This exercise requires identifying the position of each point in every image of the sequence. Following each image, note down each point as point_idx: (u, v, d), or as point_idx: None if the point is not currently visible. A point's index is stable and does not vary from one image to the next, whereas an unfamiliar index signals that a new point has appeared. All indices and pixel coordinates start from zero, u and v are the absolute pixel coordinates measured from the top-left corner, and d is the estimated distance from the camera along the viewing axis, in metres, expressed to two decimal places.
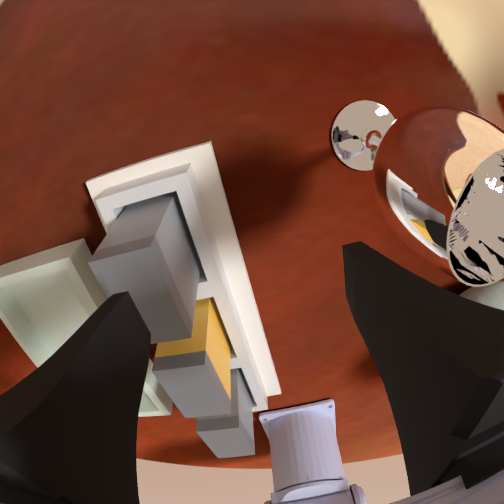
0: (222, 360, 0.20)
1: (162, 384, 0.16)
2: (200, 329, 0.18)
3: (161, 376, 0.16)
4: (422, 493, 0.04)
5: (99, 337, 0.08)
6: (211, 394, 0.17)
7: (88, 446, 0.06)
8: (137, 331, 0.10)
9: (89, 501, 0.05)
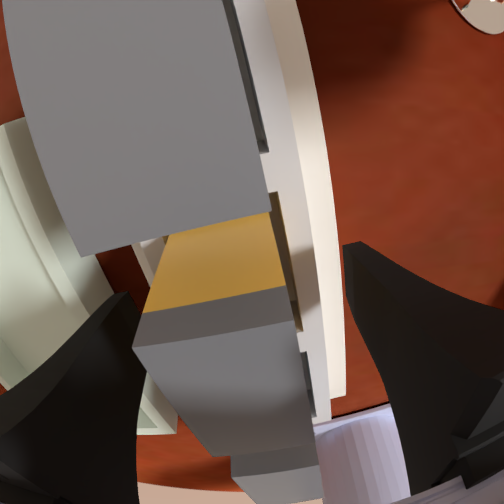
0: None
1: (162, 386, 0.06)
2: (260, 245, 0.08)
3: (159, 362, 0.06)
4: (422, 493, 0.04)
5: (98, 337, 0.08)
6: (287, 407, 0.07)
7: (88, 446, 0.06)
8: None
9: (89, 501, 0.05)
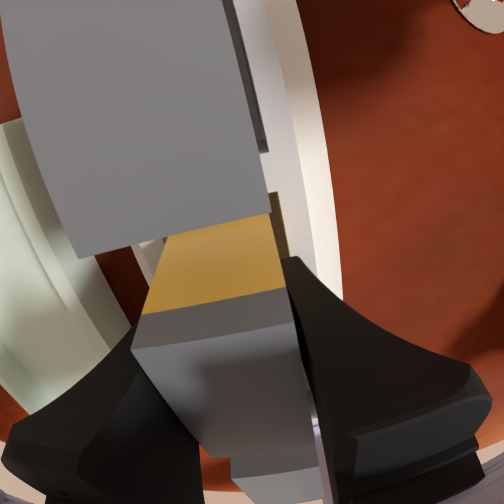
0: None
1: (161, 388, 0.06)
2: (260, 246, 0.08)
3: (158, 364, 0.06)
4: None
5: None
6: (287, 409, 0.07)
7: (163, 448, 0.06)
8: None
9: None
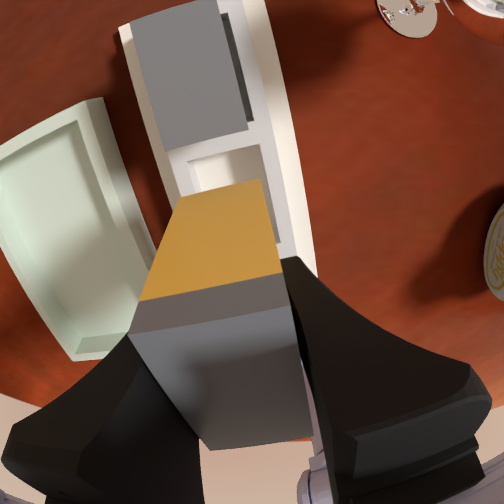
0: None
1: (157, 375, 0.06)
2: (257, 235, 0.08)
3: (155, 350, 0.06)
4: None
5: None
6: (284, 397, 0.07)
7: (163, 448, 0.06)
8: None
9: None
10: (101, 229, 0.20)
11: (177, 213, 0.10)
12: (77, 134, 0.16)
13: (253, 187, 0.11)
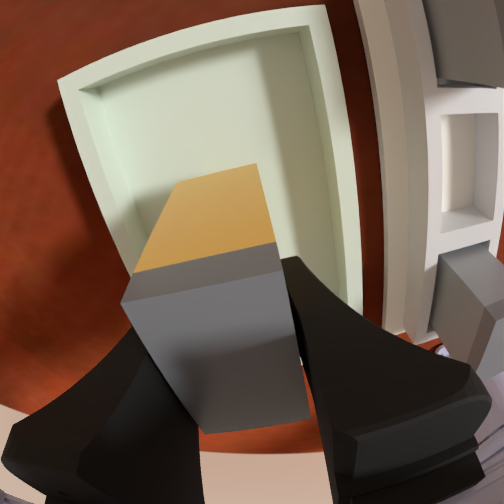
0: None
1: (150, 347, 0.06)
2: (252, 210, 0.08)
3: (147, 319, 0.06)
4: None
5: None
6: (279, 374, 0.07)
7: (163, 448, 0.06)
8: None
9: None
10: (282, 194, 0.15)
11: (174, 195, 0.10)
12: (272, 53, 0.12)
13: (249, 170, 0.11)
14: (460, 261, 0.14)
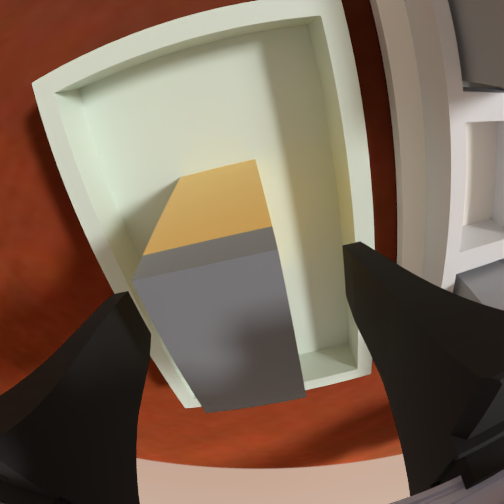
0: None
1: (157, 323, 0.07)
2: (251, 200, 0.08)
3: (156, 296, 0.07)
4: (422, 493, 0.04)
5: (99, 337, 0.08)
6: (276, 349, 0.07)
7: (88, 446, 0.06)
8: (137, 331, 0.10)
9: (89, 501, 0.05)
10: (288, 208, 0.13)
11: (178, 189, 0.11)
12: (276, 49, 0.10)
13: (248, 165, 0.11)
14: (479, 281, 0.13)
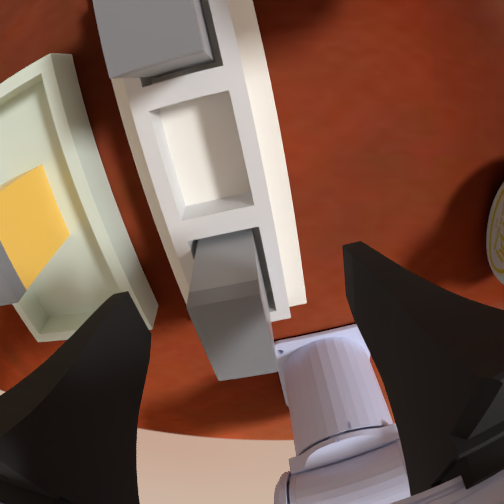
0: (27, 240, 0.14)
1: None
2: None
3: None
4: (422, 493, 0.04)
5: (99, 337, 0.08)
6: None
7: (88, 446, 0.06)
8: (137, 331, 0.10)
9: (89, 501, 0.05)
10: (65, 194, 0.17)
11: None
12: (44, 93, 0.14)
13: (32, 169, 0.15)
14: (210, 248, 0.17)
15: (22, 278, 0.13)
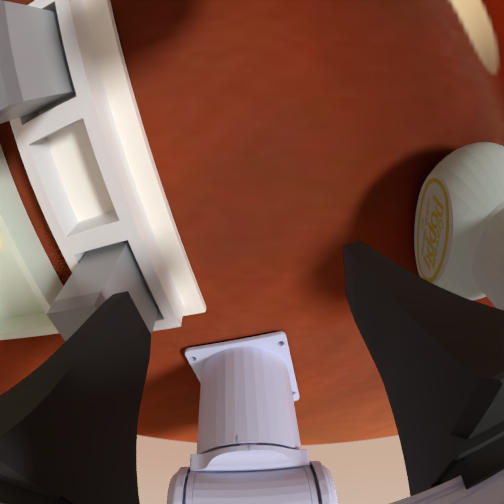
0: None
1: None
2: None
3: None
4: (422, 493, 0.04)
5: (99, 338, 0.08)
6: None
7: (88, 446, 0.06)
8: (137, 331, 0.10)
9: (89, 501, 0.05)
10: None
11: None
12: None
13: None
14: (88, 261, 0.17)
15: None
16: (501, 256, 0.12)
